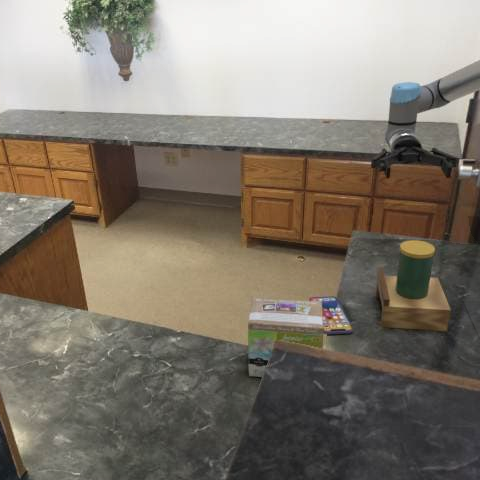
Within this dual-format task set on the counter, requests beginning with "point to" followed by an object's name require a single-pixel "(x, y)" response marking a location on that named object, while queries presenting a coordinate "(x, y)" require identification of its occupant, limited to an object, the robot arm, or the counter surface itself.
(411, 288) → the tea tin
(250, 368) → the tea box
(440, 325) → the wooden block
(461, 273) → the counter surface
